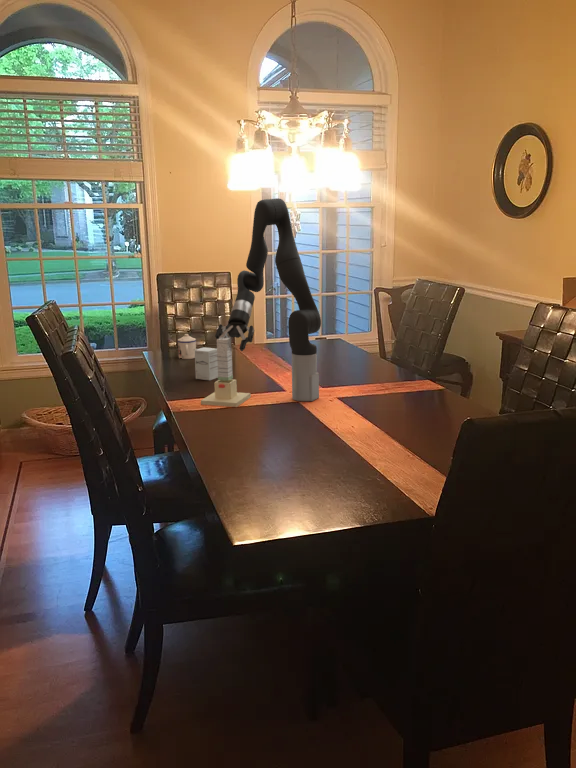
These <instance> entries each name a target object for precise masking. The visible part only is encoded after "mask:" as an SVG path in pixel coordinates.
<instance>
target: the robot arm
mask: <svg viewBox="0 0 576 768" xmlns="http://www.w3.org/2000/svg"><path fill="white" fill-rule="evenodd" d="M289 213H290V212H289V208H288V206H287V204H286V201H284V199H282V198H278V197H277V198H267V199H260V200H259V201H258V202H256V205H255V209H254V212H253V223H252V232H251V233H252V235H251V242H250V249H249V253H248V255H247V260H246V265H245V266H246V268H247V270H241V271H240V272H239V273H238V275H237V282H236V283H237V291H236V292H237V293H236V298H235V300H234V304H233V305H232V307H231V312H230V314H229V318H228V321H227V324H226V325H223V324H222V323H221V324H219V325H218V327H217V330H216V333H215V335H214V337H215V338H216V340H217V339H219V338H237V339H238V338H241V342H240V343H239V344H240V345H239V351H240V352H243V351H244V350H245V349H246V346H247V343H252V342H253V339H254V335H255V334H254V333H255V327H254V326H253V325H250V326H249V322H250V319H251V316H252V310H253V306H254V302H255V299H256V297H255V294H254V293H259V292H260V291H262V290H263V287H264V281H265V280H264V269H265V265H266V262H267V258H268V253H269V251H268V244H267V242H266V239H265V231H266V229H267V226H276V229H277V232H278V244H277V248H276V252H275V257H274V259H275V260H274V261H275V262H274V264H275V266H276V270H277V273H278V276H279V279H280V281H281V282H282V283H283V285H284V287H285V288H286V289H287V290H288V291H289V292H290V293H291V295H292V296H293V297H294V299H295V301H296V303H297V307H298V310H294V311H292V312H291V313H290V315H289V317H288V321H287V322H288V323H287V324H288V325H287V327H288V328H287V329H288V340H289V347H290V350H291V394H292V395H291V396H292V397H291V398H292V400H294V401H296V402H297V401H298V402H313V401H315V400H317V399H319V398H320V373H319V372H318V371H317V370H318V366H317V365H318V364H317V363H318V362H317V361H318V360H317V357H318V356H317V354H318V352H317V351H318V349H317V345H316V344H314V343H311V342H310V339H309V335H311V334H315V333H317V332H319V331H320V329H321V327H322V319H321V318H322V317H321V315H320V312H319V309H318V307H317V304H316V302H315V300H314V297H313V294H312V291H311V290H310V286H309V283H308V280H307V278H306V275H305V271H304V266H303V263H302V259H301V257H300V254H299V250H298V246H297V244H296V240H295V237H294V233H293V227H292V221H291V217H290V214H289ZM247 332H248V334H247V337H246V336H245V333H247Z"/></svg>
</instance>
